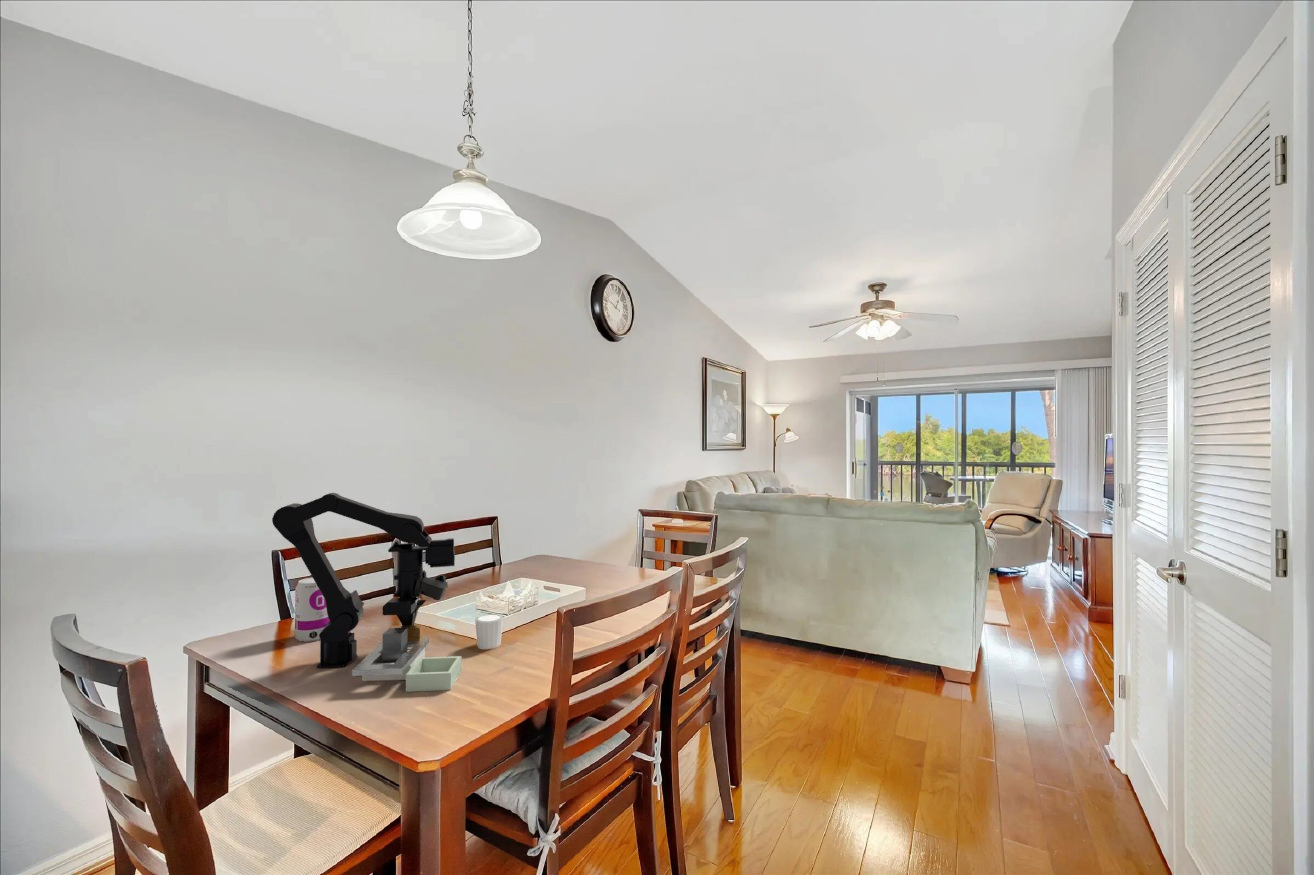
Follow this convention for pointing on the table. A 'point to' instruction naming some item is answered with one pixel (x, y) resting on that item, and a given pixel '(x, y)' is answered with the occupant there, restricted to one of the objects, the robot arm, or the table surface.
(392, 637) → the peg
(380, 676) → the socket block
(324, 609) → the supplement can
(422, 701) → the table surface
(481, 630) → the white cup
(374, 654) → the plate
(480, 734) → the table surface
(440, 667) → the open box
